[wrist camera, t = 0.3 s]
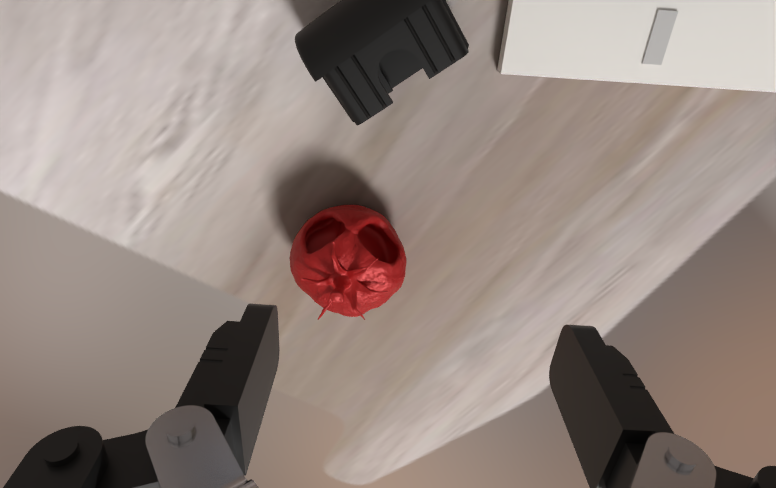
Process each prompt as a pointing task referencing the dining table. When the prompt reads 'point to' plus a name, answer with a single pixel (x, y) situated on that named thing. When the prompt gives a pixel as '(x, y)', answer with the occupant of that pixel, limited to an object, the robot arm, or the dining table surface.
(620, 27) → the lock base
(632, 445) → the robot arm
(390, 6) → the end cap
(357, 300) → the pomegranate
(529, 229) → the dining table surface
